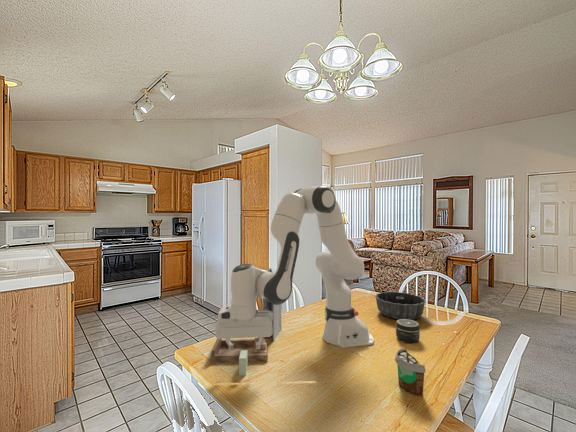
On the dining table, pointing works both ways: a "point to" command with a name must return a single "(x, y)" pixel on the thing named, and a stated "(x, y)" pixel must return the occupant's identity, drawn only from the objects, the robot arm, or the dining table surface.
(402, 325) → the jar
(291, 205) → the robot arm
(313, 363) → the dining table surface
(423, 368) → the food container
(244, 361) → the pale green brick
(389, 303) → the bundt pan
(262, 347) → the offcut
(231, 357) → the tray
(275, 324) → the brochure
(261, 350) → the offcut
